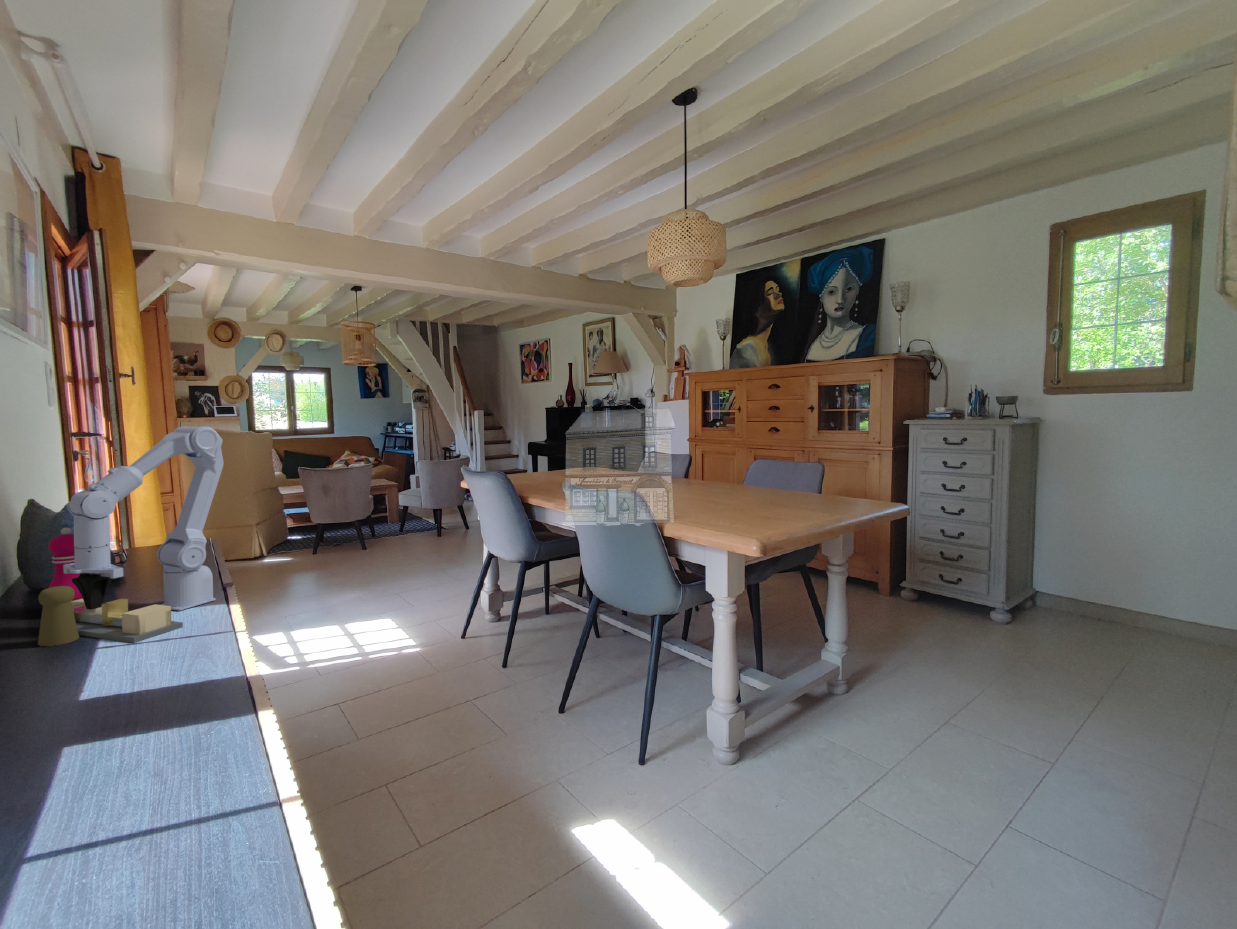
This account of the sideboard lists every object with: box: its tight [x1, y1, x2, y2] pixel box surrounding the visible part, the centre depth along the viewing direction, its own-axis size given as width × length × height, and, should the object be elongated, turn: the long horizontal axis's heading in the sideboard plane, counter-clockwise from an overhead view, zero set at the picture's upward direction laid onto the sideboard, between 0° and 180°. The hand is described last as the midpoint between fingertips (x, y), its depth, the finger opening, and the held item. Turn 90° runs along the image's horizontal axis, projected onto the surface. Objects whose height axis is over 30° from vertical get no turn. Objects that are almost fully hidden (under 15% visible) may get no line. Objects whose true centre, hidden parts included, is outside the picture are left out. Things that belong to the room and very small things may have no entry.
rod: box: [74, 598, 129, 627], centre depth 124 cm, size 4×17×5 cm, turn 76°
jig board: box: [71, 599, 184, 643], centre depth 123 cm, size 10×25×5 cm, turn 76°
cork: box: [37, 586, 80, 647], centre depth 115 cm, size 6×6×11 cm
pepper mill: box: [47, 527, 84, 609], centre depth 133 cm, size 7×7×20 cm
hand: (94, 608), depth 125 cm, fingers closed
